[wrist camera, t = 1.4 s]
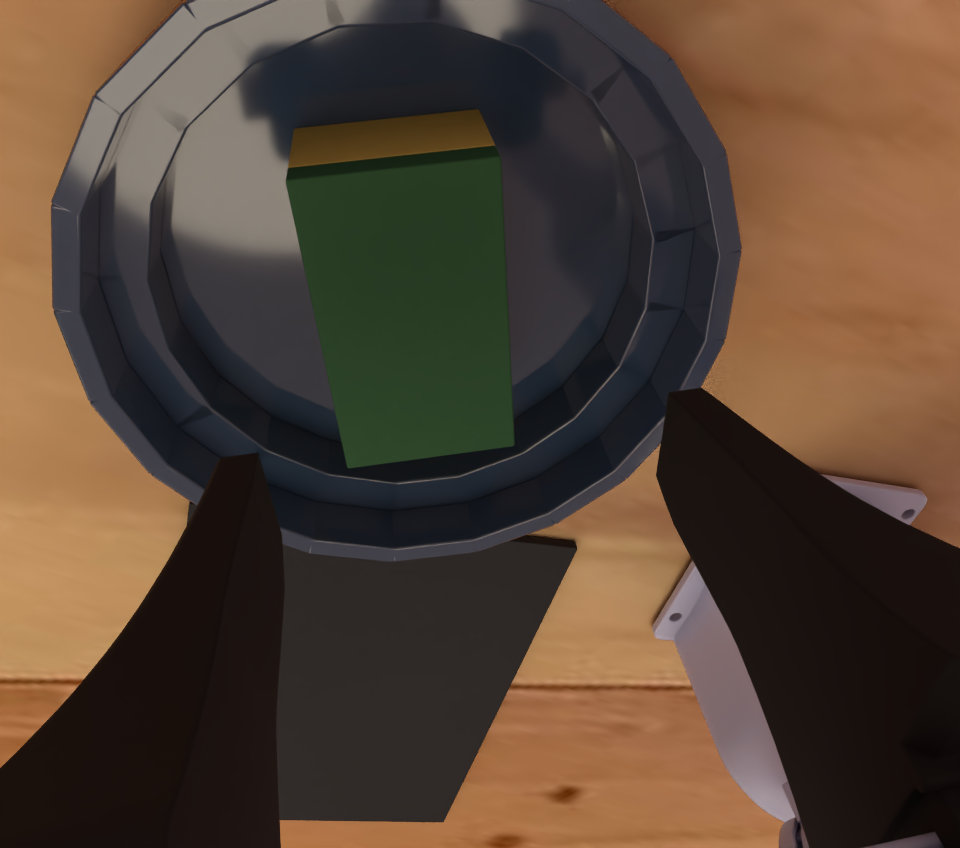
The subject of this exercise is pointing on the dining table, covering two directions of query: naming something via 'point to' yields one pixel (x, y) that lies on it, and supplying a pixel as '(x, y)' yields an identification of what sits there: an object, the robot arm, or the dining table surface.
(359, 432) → the sponge
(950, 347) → the dining table surface
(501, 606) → the drying mat
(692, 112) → the bowl
